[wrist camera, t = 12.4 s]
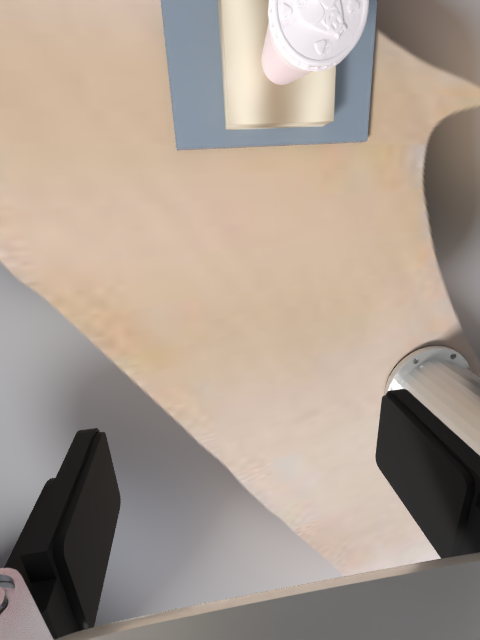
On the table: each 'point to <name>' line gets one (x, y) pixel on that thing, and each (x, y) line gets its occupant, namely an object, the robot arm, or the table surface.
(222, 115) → the board
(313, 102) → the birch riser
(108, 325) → the table surface
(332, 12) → the smoothie
